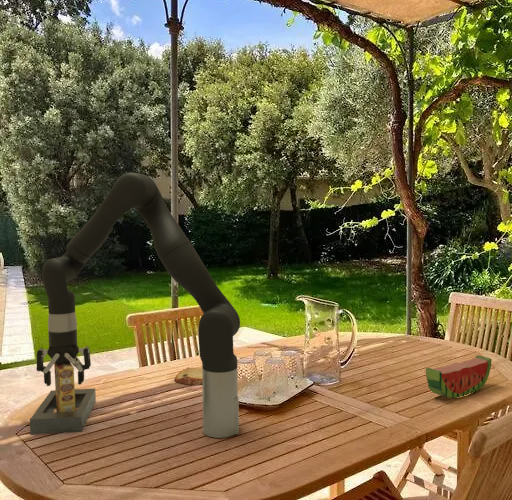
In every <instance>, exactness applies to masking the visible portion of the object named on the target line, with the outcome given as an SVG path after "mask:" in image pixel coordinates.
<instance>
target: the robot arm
mask: <svg viewBox="0 0 512 500" xmlns="http://www.w3.org/2000/svg"><path fill="white" fill-rule="evenodd" d="M132 209H135V210H137V212H138V213H139V214H140V216H141V217H142V219H143V220H144V222H145V223H146V225H147V226H148V229H149V231H150V234H151V237H152V241H153V244H154V245H153V246H154V249H155V252H156V254H157V257H158V258H159V261H161V263H162V265H163V267H164V268H165V270H166V271H167V273H168V274H169V275H170V277H171V278H172V279H173V280H174V281H175V282H176V283H177V284H178V285H179V286H180V287H181V288H182V289H184V290H185V291H186V292H187V293H188V294H189V295H190V296H192V298H193V299H194V300H195V302H196V303H197V304H198V306H199V308H200V309H201V312H202V316H201V317H200V319H199V322H198V331H197V332H198V333H197V334H198V350H199V351H198V352H199V357H200V360H201V366H202V367H201V368H202V382H203V385H202V431H203V434H204V435H205V436H207V437H210V438H216V439H218V438H219V439H220V438H221V439H225V438H228V437H229V438H230V437H232V436H234V435H235V436H236V435H239V434H240V429H239V428H240V427H239V426H240V421H239V420H240V417H239V415H240V411H239V410H240V407H239V404H240V402H239V395H238V357H237V355H235V353H234V336H235V335H237V333H238V332H239V330H240V328H241V320H240V316H239V314H238V312H237V310H236V308H235V307H234V306H233V304H232V303H231V302H230V301H229V300H228V298H227V297H226V296H225V294H224V293H223V292H222V291H221V290H220V288H219V286H218V285H217V284H216V282H215V280H214V278H213V277H212V276H211V274H210V272H209V270H208V269H207V267H206V266H205V264H204V262H203V261H202V259H201V257H200V256H199V254H198V252H197V251H196V249H195V247H194V246H193V244H192V242H191V241H190V240H189V238H188V236H187V235H186V234H185V232H184V231H183V229H182V228H181V226H180V224H179V223H178V222H177V221H176V219H175V217H174V216H173V214H172V213H171V211H170V209H169V208H168V205H167V204H166V202H165V200H164V198H163V196H162V194H161V191H160V189H159V187H158V185H157V184H156V182H155V180H153V179H152V178H151V177H150V176H148V175H146V174H144V173H143V174H142V173H138V172H126V173H123V174H121V176H120V177H118V179H117V180H116V181H115V183H114V185H113V186H112V187H111V189H110V190H109V192H108V194H107V195H106V197H105V198H104V199H103V201H102V202H101V204H100V205H99V207H98V208H97V210H96V211H95V212H94V213H93V214H92V216H91V217H90V218H89V220H87V222H86V223H85V224H84V225H83V226H82V227H81V228H80V230H78V231H77V232H76V233H75V235H74V236H73V237H72V238H71V239H70V240H69V242H68V243H67V244H66V246H65V247H66V248H65V249H66V251H65V253H64V254H63V255H61V256H58V257H53V258H50V259H47V260H46V261H44V264H42V265H43V266H42V269H41V278H42V279H41V280H42V283H43V287H44V290H45V294H46V295H47V301H48V302H47V304H48V305H47V306H48V317H47V330H48V333H47V334H48V349H45V348H43V347H40V348H39V349H38V350H37V352H36V371H37V372H42V373H43V383H44V384H45V385H46V386H47V387H51V385H52V374H51V369H52V367H54V363H56V364H57V365H59V364H69V363H71V364H72V366H73V367H74V368H76V369H77V384H78V385H79V386H80V385H82V384H83V383H84V381H85V371H86V370H89V369H90V367H91V365H92V361H91V354H90V351H91V350H90V347H89V346H85V347H79V346H78V322H77V321H78V320H77V315H76V299H75V293H74V292H73V291H71V290H69V289H68V286H67V285H68V284H67V282H69V281H72V280H73V279H75V278H76V277H77V276H78V275H79V274H80V273H81V271H82V270H83V269H84V267H85V266H86V264H87V263H88V260H89V259H90V258H91V257H92V256H93V255H94V254H95V253H96V252H97V251H98V250H99V249H100V248H101V247H102V245H104V243H105V241H106V240H107V239H108V238H109V235H110V233H111V231H112V229H113V227H114V225H115V224H116V223H117V222H118V221H119V220H120V218H122V217H123V216H124V215H125V214H126V213H128V212H129V211H131V210H132ZM79 353H80V354H81V356H82V357H83V360H84V364H83V363H82V362H81V360H80V359H79V357H78V354H79ZM46 355H47V356H48V357H49V358H50V359H51V360H50V361H49V362H48V363H47V365H46V366H45V365H44V359H45V357H46Z"/></svg>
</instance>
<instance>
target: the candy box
mask: <svg viewBox="0 0 512 500" xmlns="http://www.w3.org/2000/svg"><path fill="white" fill-rule="evenodd" d="M53 367H54V385H55V386H54V387H55V390H56V408H55V409H56V412H75V411H77V409H76V407H75V389H76V387H75V370H74V369H75V366H73V365H72V363H69V364H59V365H57V364H56V363H54V365H53Z"/></svg>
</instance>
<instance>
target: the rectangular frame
mask: <svg viewBox="0 0 512 500" xmlns="http://www.w3.org/2000/svg"><path fill="white" fill-rule="evenodd" d="M96 395H97V394H96V388H81V389H79V388H78V389H77V388H75V408H77V409H76V411H75V412H57V411H56V412H54V411H55V409H57V408H56V390H50V391H49V393H48V394H47V395H46V397H45V399H44V400H43V401H42V402H41V403H40V405H39V406H38V408H37V409H36V411H35V412H34V414H33V415H32V416H31V417H30V419H29V426H30V427H29V429H30V430H29V432H30V435H43V434H45V435H46V434H63V433H77V432H78V433H79V432H80V433H81V432H83V430H84V428H85V425H86V424H87V422H88V420H89V417H90V415H91V413H92V410H93V409H94V405H95V404H96V397H97V396H96Z"/></svg>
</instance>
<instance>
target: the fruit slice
mask: <svg viewBox="0 0 512 500" xmlns="http://www.w3.org/2000/svg"><path fill="white" fill-rule="evenodd" d="M491 369H492V358H489V357H487V356H482V355H475V357H474V358H472V359H469V360H465V361H464V360H463V361H462V362H454V363H451V364H449V365H445V366H440V367H435V368H432V367H431V368H430V367H425V377H426V380H427V387H428V389H429V391H430V392H432V393H433V394H436V395H439V396H441V397H444V398H451V399H458V398H457V397H460V396H464V395H467V394H469V393H472V392H474V393H476V392H477V391H479V390H480V389H482V388H483V387H484V386H485V385H486V383H487V381H488V379H489V376H490V372H491ZM475 391H476V392H475ZM472 394H473V393H472Z"/></svg>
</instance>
